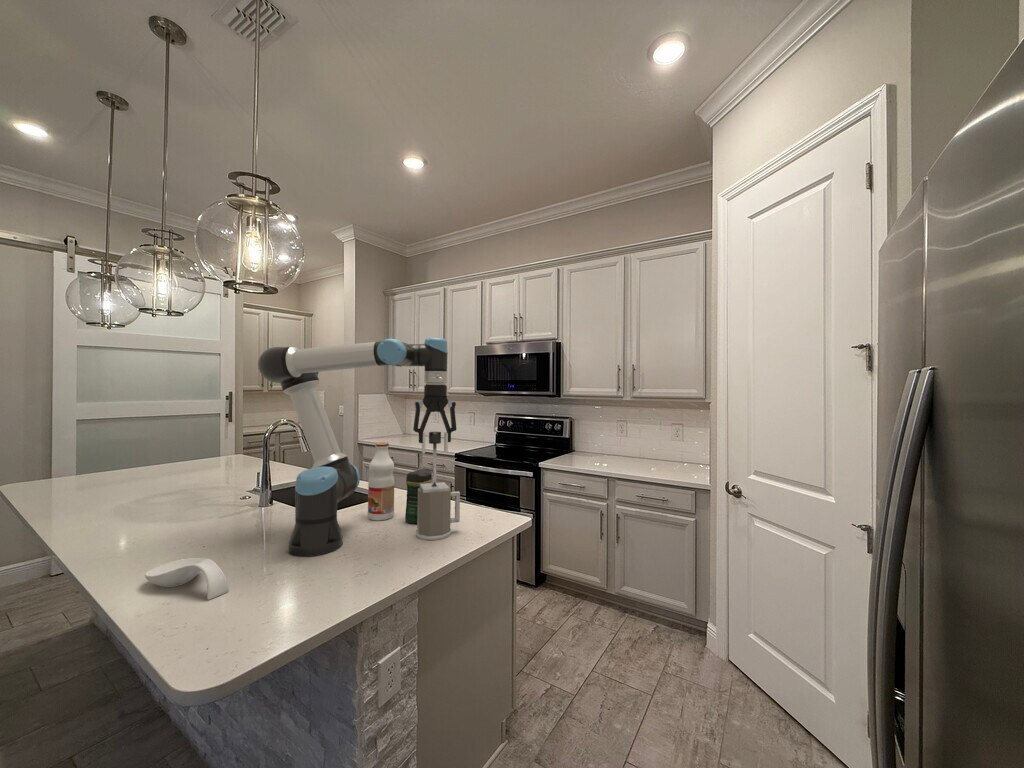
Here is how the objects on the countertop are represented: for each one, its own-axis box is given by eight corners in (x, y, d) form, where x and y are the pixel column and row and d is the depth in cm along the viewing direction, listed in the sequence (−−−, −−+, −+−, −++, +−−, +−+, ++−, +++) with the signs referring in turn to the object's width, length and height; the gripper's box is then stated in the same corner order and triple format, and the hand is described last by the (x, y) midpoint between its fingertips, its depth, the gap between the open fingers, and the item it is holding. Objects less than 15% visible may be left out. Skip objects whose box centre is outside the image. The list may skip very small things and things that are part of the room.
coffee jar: (420, 525, 148) (420, 473, 148) (401, 522, 151) (402, 471, 151) (434, 517, 157) (435, 468, 157) (417, 515, 160) (417, 466, 160)
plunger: (424, 495, 136) (425, 433, 136) (421, 489, 143) (422, 431, 143) (447, 493, 138) (448, 433, 138) (443, 488, 145) (444, 430, 145)
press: (418, 542, 133) (418, 491, 133) (414, 530, 144) (414, 483, 144) (462, 537, 138) (463, 488, 138) (455, 525, 149) (455, 480, 149)
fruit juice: (394, 519, 155) (395, 444, 155) (367, 522, 152) (368, 445, 152) (393, 512, 164) (394, 440, 164) (367, 514, 160) (368, 441, 161)
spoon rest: (134, 587, 102) (134, 557, 102) (187, 568, 113) (187, 541, 113) (193, 608, 93) (193, 576, 93) (245, 586, 104) (245, 557, 104)
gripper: (406, 383, 134) (405, 455, 134) (466, 384, 140) (466, 452, 140) (404, 383, 141) (403, 451, 141) (461, 384, 147) (461, 449, 147)
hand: (434, 452), depth 140 cm, fingers open, 7 cm apart
